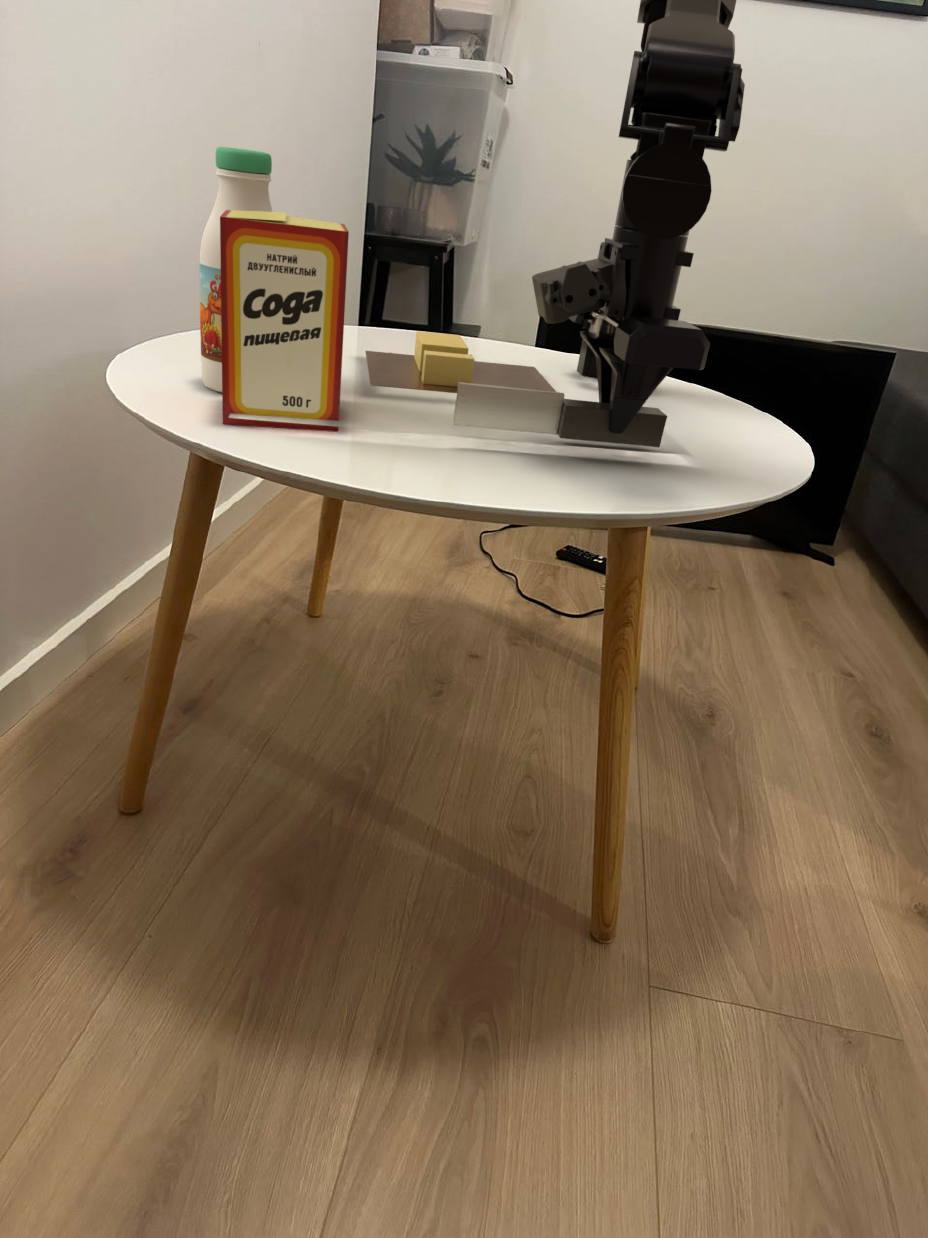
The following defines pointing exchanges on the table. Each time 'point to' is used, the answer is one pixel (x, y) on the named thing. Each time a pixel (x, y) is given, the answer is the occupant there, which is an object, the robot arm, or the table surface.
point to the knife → (551, 415)
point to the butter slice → (447, 368)
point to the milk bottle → (240, 191)
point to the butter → (437, 345)
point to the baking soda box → (282, 317)
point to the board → (407, 376)
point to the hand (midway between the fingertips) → (610, 428)
